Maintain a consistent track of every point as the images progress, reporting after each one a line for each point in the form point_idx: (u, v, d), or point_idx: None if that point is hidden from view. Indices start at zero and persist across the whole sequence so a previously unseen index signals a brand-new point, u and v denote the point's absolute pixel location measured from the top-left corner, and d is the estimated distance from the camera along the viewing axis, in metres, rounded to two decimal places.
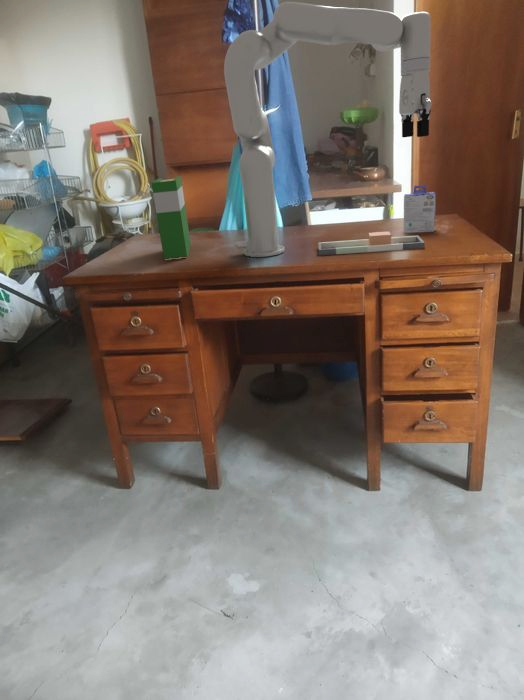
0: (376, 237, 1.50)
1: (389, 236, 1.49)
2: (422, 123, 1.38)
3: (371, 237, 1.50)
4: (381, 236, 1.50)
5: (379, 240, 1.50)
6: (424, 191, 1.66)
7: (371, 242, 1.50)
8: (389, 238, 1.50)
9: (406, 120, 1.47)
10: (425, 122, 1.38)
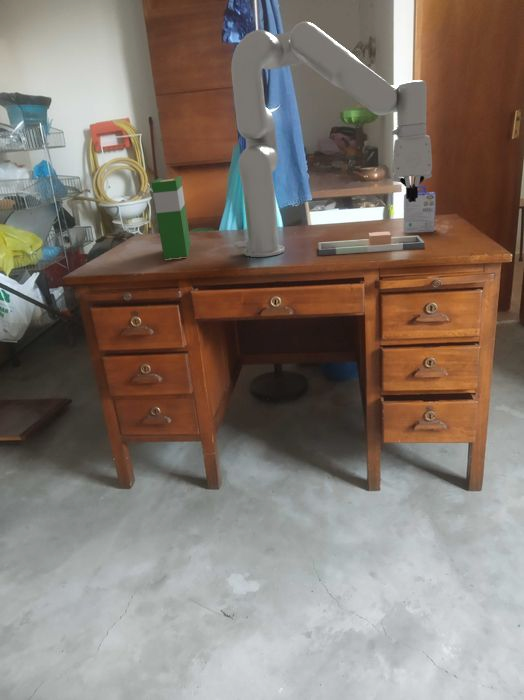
0: (376, 237, 1.50)
1: (389, 236, 1.49)
2: None
3: (371, 237, 1.50)
4: (381, 236, 1.50)
5: (379, 240, 1.50)
6: (424, 191, 1.66)
7: (371, 242, 1.50)
8: (389, 238, 1.50)
9: None
10: None
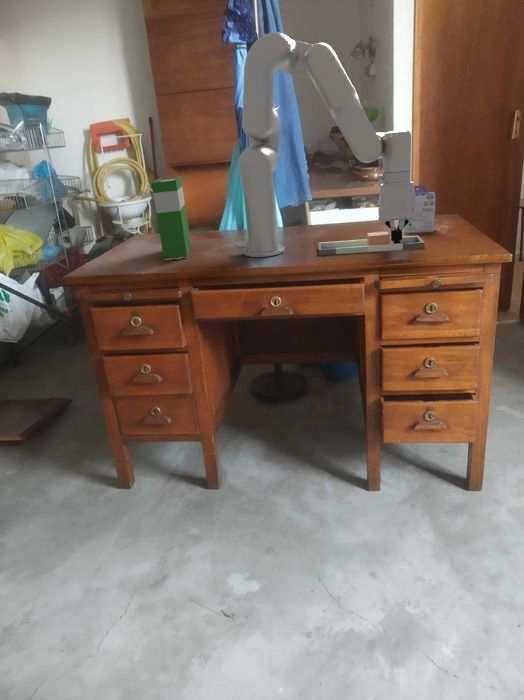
0: (375, 237, 1.50)
1: (388, 236, 1.49)
2: (401, 231, 1.50)
3: (370, 237, 1.50)
4: (380, 236, 1.50)
5: (378, 240, 1.50)
6: (424, 191, 1.66)
7: (370, 242, 1.51)
8: (388, 238, 1.50)
9: None
10: (401, 230, 1.51)
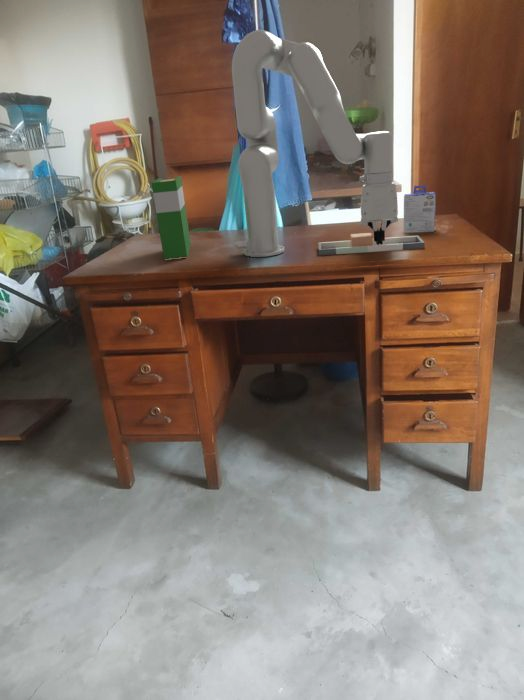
0: (358, 238, 1.50)
1: (370, 237, 1.50)
2: None
3: (353, 238, 1.50)
4: (362, 237, 1.50)
5: (361, 241, 1.51)
6: (424, 191, 1.66)
7: (353, 243, 1.51)
8: (370, 239, 1.50)
9: None
10: None
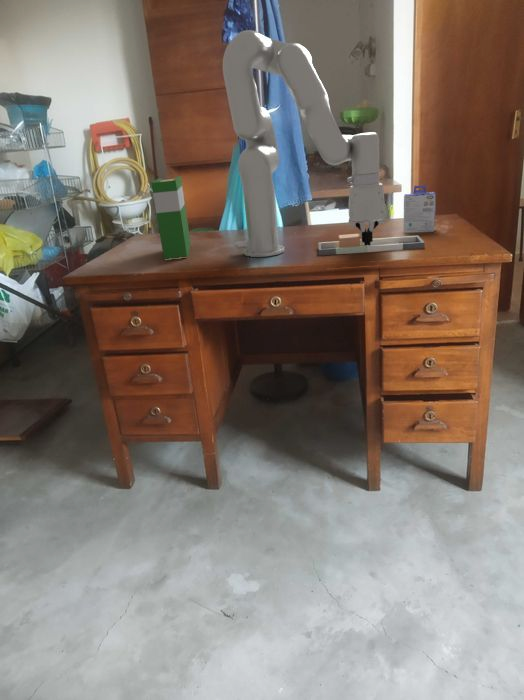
0: (345, 239, 1.51)
1: (358, 238, 1.50)
2: None
3: (340, 239, 1.51)
4: (350, 238, 1.51)
5: (348, 242, 1.51)
6: (424, 191, 1.66)
7: (340, 244, 1.51)
8: (358, 240, 1.51)
9: None
10: None
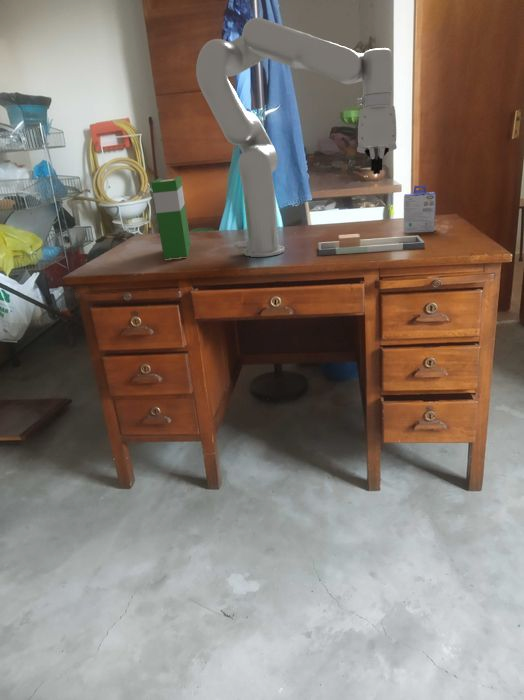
0: (345, 239, 1.51)
1: (358, 238, 1.50)
2: None
3: (340, 239, 1.51)
4: (350, 238, 1.51)
5: (348, 242, 1.51)
6: (424, 191, 1.66)
7: (340, 244, 1.51)
8: (358, 240, 1.51)
9: None
10: (381, 160, 1.45)
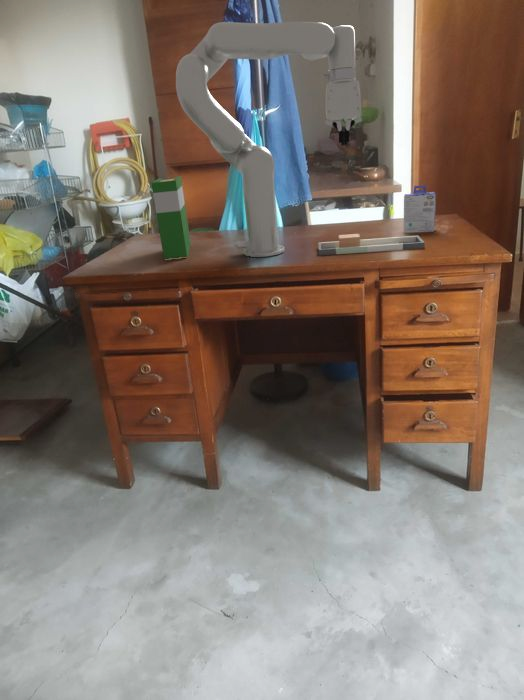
0: (345, 239, 1.51)
1: (358, 238, 1.50)
2: (348, 133, 1.53)
3: (340, 239, 1.51)
4: (350, 238, 1.51)
5: (348, 242, 1.51)
6: (424, 191, 1.66)
7: (340, 244, 1.51)
8: (358, 240, 1.51)
9: None
10: (348, 132, 1.54)
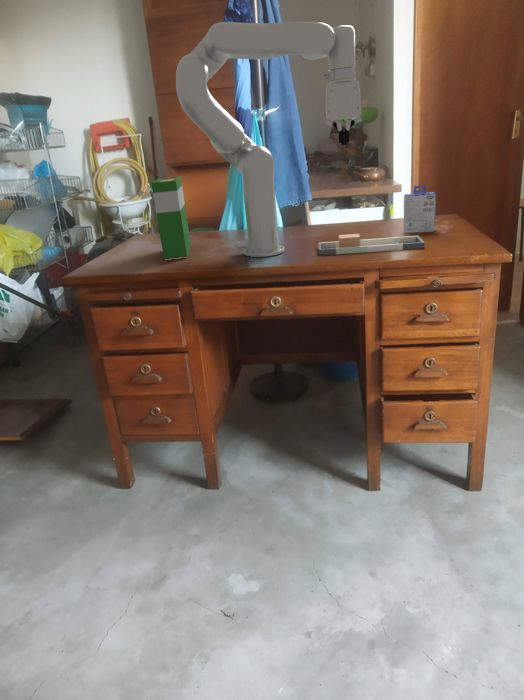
0: (345, 239, 1.51)
1: (358, 238, 1.50)
2: (348, 133, 1.53)
3: (340, 239, 1.51)
4: (350, 238, 1.51)
5: (348, 242, 1.51)
6: (424, 191, 1.66)
7: (340, 244, 1.51)
8: (358, 240, 1.51)
9: None
10: (348, 132, 1.54)
